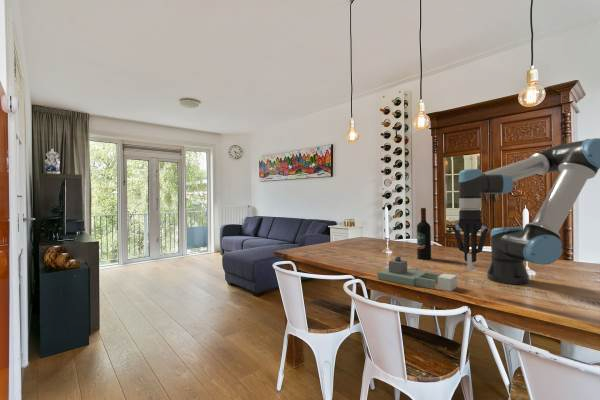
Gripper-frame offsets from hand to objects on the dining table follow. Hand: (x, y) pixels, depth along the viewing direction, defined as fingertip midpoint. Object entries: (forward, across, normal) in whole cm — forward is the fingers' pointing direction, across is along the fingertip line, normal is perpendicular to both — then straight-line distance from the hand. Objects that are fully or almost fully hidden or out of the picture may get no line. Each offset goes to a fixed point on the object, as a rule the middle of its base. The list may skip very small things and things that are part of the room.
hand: (470, 269), depth 116 cm
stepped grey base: (+9, +24, 0) cm, 26 cm away
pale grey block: (+9, +8, 0) cm, 12 cm away
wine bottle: (+9, +38, -48) cm, 62 cm away
